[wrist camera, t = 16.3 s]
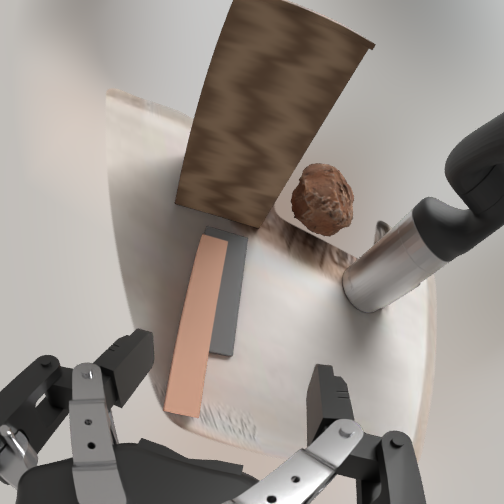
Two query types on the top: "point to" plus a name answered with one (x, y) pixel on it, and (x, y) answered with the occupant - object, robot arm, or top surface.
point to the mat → (228, 292)
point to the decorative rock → (323, 200)
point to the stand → (263, 105)
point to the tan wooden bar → (195, 329)
